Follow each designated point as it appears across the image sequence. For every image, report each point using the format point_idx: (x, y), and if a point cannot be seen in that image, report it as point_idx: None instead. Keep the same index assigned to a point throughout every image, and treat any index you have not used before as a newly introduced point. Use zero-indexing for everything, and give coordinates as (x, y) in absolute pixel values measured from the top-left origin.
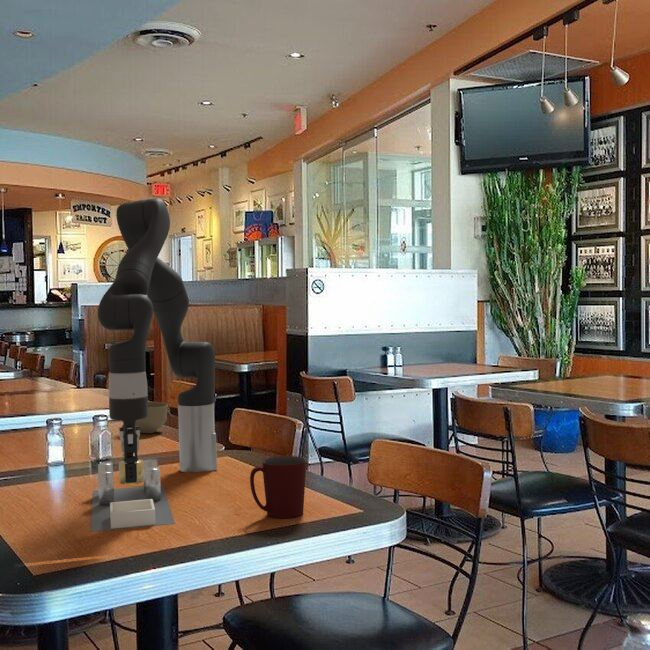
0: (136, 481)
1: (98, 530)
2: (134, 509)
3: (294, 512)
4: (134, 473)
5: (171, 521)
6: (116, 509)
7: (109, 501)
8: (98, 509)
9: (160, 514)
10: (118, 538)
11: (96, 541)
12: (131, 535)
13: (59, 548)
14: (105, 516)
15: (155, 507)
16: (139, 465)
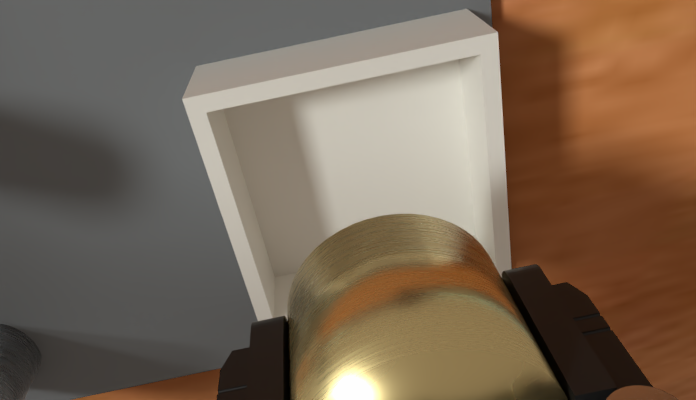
0: (534, 264)
1: None
2: (241, 185)
3: None
4: (604, 326)
5: None
6: (269, 279)
7: (17, 352)
8: (109, 365)
9: (230, 9)
10: (614, 169)
11: (624, 252)
12: (586, 116)
13: (662, 356)
14: (250, 306)
15: (42, 72)
16: (528, 347)
